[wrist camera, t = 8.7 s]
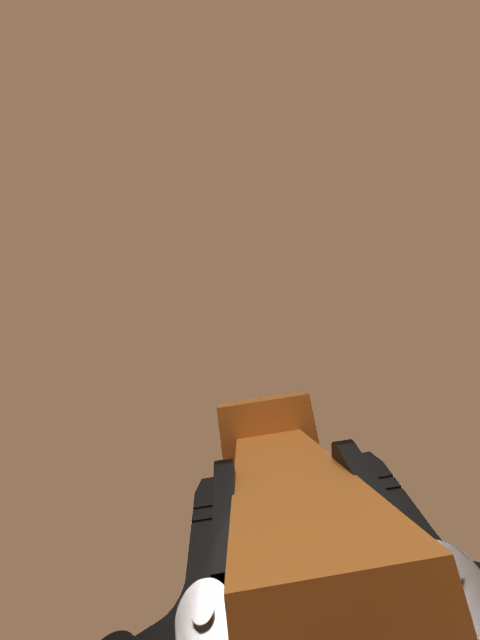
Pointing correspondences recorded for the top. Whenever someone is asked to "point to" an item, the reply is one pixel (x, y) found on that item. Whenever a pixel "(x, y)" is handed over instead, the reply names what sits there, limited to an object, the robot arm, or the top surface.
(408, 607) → the orange wooden block
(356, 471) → the robot arm
